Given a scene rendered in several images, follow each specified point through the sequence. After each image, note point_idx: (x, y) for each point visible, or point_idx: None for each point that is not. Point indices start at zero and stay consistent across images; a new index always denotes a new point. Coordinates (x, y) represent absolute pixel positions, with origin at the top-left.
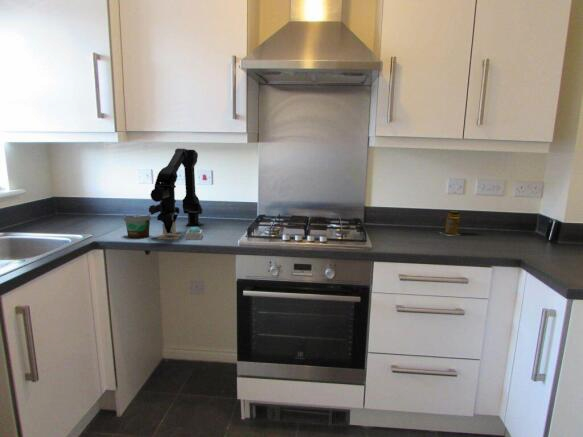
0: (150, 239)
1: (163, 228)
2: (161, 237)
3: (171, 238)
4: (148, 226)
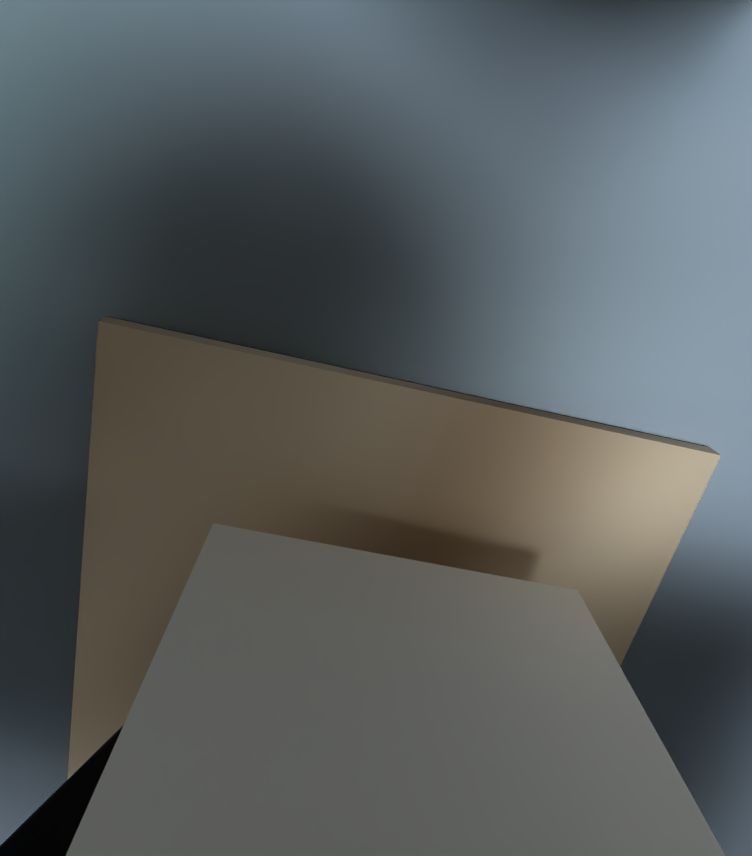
0: (129, 63)
1: (122, 759)
2: (250, 440)
3: (93, 680)
4: None
